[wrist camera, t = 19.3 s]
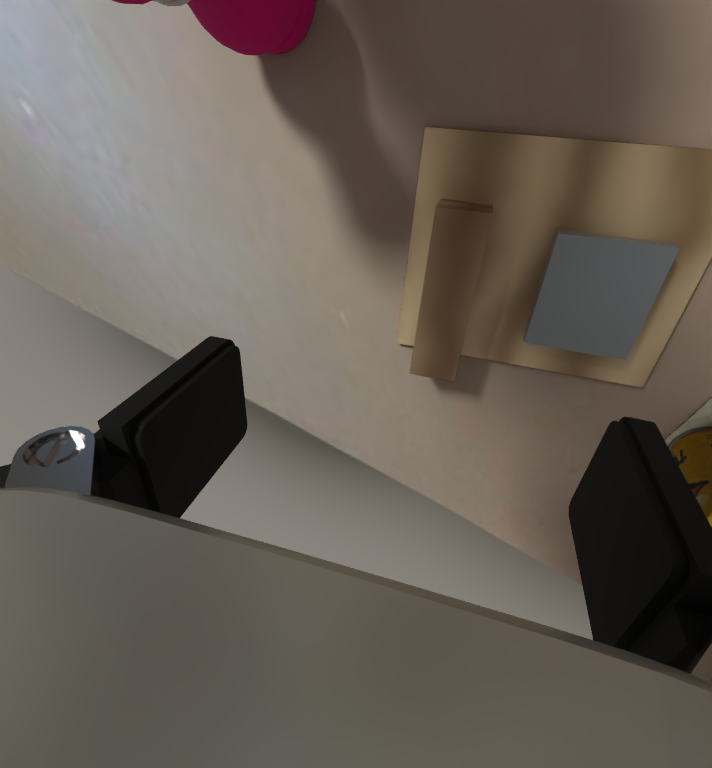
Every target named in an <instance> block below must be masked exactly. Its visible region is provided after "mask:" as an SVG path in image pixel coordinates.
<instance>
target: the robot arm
mask: <svg viewBox="0 0 712 768" xmlns="http://www.w3.org/2000/svg"><path fill="white" fill-rule="evenodd" d="M98 424H99V427H100V430H98V431H97V432H96V433H95V434H93V433H92V432H91V431H90V430H88V429H86V428H83V427H76V426H68V427H59V428H55V429H51V430H48V431H45V432H43V433H40V434H38V435H36V436H34V437H33V438H31V439H29V440H28V441H26V442H25V443H24V444H23V445H22V446H21V447H20V448H18V450H17V452H16V453H15V455H14V457H13V460H12V464H9V465H5V466H1V467H0V768H712V527H711V525H710V523H709V521H708V519H707V518H706V516H705V514H704V512H703V510H702V508H701V507H700V505H699V503H698V501H697V499H696V497H695V496H694V494H693V492H692V490H691V488H690V486H689V484H688V483H687V481H686V479H685V477H684V475H683V473H682V472H681V470H680V468H679V466H678V464H677V462H676V461H675V459H674V457H673V455H672V453H671V451H670V450H669V448H668V446H667V444H666V442H665V440H664V439H663V437H662V435H661V433H660V431H659V429H658V428H657V426H656V424H655V423H654V422H650V421H645V420H640V419H635V418H630V417H623V418H621V419H620V420H619V422H617V421H612V422H611V423H610V424H609V426H608V428H607V430H606V432H605V434H604V436H603V438H602V440H601V442H600V444H599V446H598V448H597V450H596V452H595V454H594V456H593V458H592V460H591V462H590V464H589V466H588V468H587V470H586V471H585V473H584V475H583V477H582V479H581V481H580V483H579V485H578V487H577V489H576V491H575V493H574V495H573V497H572V499H571V502H570V505H569V519H570V524H571V529H572V534H573V539H574V544H575V549H576V554H577V559H578V565H579V570H580V575H581V580H582V585H583V590H584V595H585V599H586V605H587V610H588V615H589V620H590V625H591V630H592V636H593V640H590V639H587V638H584V637H581V636H577V635H574V634H571V633H568V632H565V631H561V630H558V629H555V628H552V627H549V626H546V625H542V624H539V623H536V622H532V621H529V620H525V619H522V618H519V617H516V616H512V615H509V614H505V613H502V612H499V611H495V610H492V609H489V608H485V607H482V606H479V605H475V604H472V603H469V602H465V601H462V600H459V599H455V598H452V597H449V596H445V595H442V594H438V593H435V592H432V591H428V590H425V589H421V588H418V587H415V586H412V585H408V584H404V583H401V582H398V581H395V580H391V579H388V578H384V577H381V576H377V575H374V574H370V573H367V572H364V571H360V570H357V569H354V568H350V567H346V566H343V565H340V564H336V563H333V562H330V561H326V560H322V559H319V558H316V557H312V556H309V555H306V554H302V553H299V552H295V551H292V550H288V549H285V548H281V547H278V546H275V545H271V544H268V543H264V542H261V541H257V540H253V539H250V538H247V537H243V536H240V535H236V534H233V533H229V532H226V531H222V530H219V529H215V528H212V527H208V526H205V525H201V524H198V523H194V522H191V521H187V520H183V519H180V517H181V516H182V514H183V513H184V512H185V511H186V509H187V508H188V507H189V505H190V504H191V503H192V502H193V501H194V499H195V498H196V497H197V495H198V494H199V493H200V491H201V490H202V489H203V488H204V487H205V485H206V484H207V483H208V482H209V480H210V479H211V478H212V476H213V475H214V474H215V473H216V471H217V470H218V469H219V468H220V466H221V465H222V464H223V462H224V461H225V460H226V459H227V457H228V456H229V455H230V453H231V452H232V451H233V450H234V449H235V447H236V446H237V444H238V443H239V442H240V441H241V440H242V438H243V437H244V435H245V433H246V430H247V416H246V407H245V397H244V387H243V377H242V368H241V358H240V350H239V348H238V347H237V346H235V344H234V343H233V341H232V340H229V339H224V338H219V337H213V336H210V337H208V338H207V339H205V340H204V341H203V342H201V343H200V344H199V345H198V346H196V347H195V348H194V349H192V350H191V351H190V352H188V353H187V354H186V355H184V356H183V357H182V358H180V359H179V360H178V361H176V362H175V363H174V364H172V365H171V366H170V367H169V368H167V369H166V370H165V371H163V372H162V373H161V374H159V375H158V376H157V377H155V378H154V379H153V380H151V381H150V382H149V383H147V384H146V385H145V386H143V387H142V388H141V389H140V390H138V391H137V392H136V393H134V394H133V395H132V396H130V397H129V398H128V399H126V400H125V401H124V402H122V403H121V404H120V405H119V406H117V407H116V408H114V409H113V410H112V411H111V412H109V413H108V414H107V415H105V416H104V417H103V418H101V419H100V420H99V421H98Z"/></svg>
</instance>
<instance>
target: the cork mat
mask: <svg viewBox="0 0 712 768" xmlns="http://www.w3.org/2000/svg"><path fill="white" fill-rule="evenodd" d="M441 199H449V200H458V201H467V202H476V203H485V204H493V215H492V220H491V224H490V228H489V233H488V237H487V241H486V246H485V250H484V255H483V259H482V263H481V268H480V272H479V276H478V281H477V285H476V290H475V294H474V298H473V303H472V307H471V312H470V316H469V320H468V325H467V329H466V333H465V338H464V342H463V347H462V351H461V355H465V356H470V357H476V358H481V359H487V360H492V361H498V362H504V363H509V364H515V365H520V366H526V367H531V368H537V369H542V370H548V371H553V372H559V373H564V374H570V375H575V376H581V377H586V378H592V379H597V380H603V381H608V382H614V383H620V384H625V385H631V386H636V387H642V388H643V386H644V385H645V383H646V381H647V379H648V377H649V375H650V373H651V371H652V369H653V368H654V366H655V364H656V362H657V360H658V358H659V356H660V354H661V352H662V351H663V349H664V347H665V345H666V343H667V341H668V339H669V337H670V335H671V333H672V332H673V330H674V328H675V326H676V324H677V322H678V320H679V318H680V316H681V315H682V313H683V311H684V309H685V307H686V305H687V303H688V301H689V299H690V298H691V296H692V294H693V292H694V290H695V288H696V286H697V284H698V282H699V281H700V279H701V277H702V275H703V273H704V271H705V269H706V267H707V265H708V264H709V262H710V260H711V258H712V150H710V149H697V148H685V147H672V146H659V145H647V144H634V143H621V142H609V141H596V140H584V139H571V138H558V137H546V136H533V135H521V134H508V133H495V132H483V131H470V130H457V129H445V128H432V127H425V130H424V138H423V146H422V153H421V161H420V169H419V176H418V184H417V192H416V199H415V207H414V215H413V222H412V230H411V238H410V245H409V253H408V261H407V268H406V276H405V284H404V291H403V299H402V307H401V314H400V322H399V329H398V337H397V343H399V344H404V345H410V346H414V342H415V335H416V329H417V322H418V316H419V310H420V303H421V297H422V290H423V284H424V278H425V271H426V265H427V258H428V252H429V246H430V239H431V233H432V226H433V220H434V214H435V207H436V206H437V204H438V203H439V201H440V200H441ZM556 229H559V230H568V231H576V232H584V233H593V234H601V235H610V236H618V237H626V238H635V239H643V240H652V241H660V242H668V243H673V244H675V245H676V246H678V247H679V248H680V249H679V251H678V253H677V255H676V257H675V259H674V261H673V263H672V265H671V268H670V270H669V272H668V274H667V276H666V278H665V280H664V282H663V284H662V286H661V288H660V290H659V292H658V295H657V297H656V299H655V301H654V303H653V305H652V307H651V309H650V311H649V313H648V315H647V317H646V319H645V322H644V324H643V326H642V328H641V330H640V332H639V334H638V336H637V338H636V340H635V342H634V344H633V346H632V349H631V351H630V353H629V355H628V357H627V359H626V360H622V359H616V358H610V357H604V356H599V355H593V354H587V353H581V352H575V351H569V350H563V349H558V348H552V347H546V346H540V345H534V344H528V343H524V340H523V333H524V330H525V327H526V323H527V320H528V317H529V314H530V311H531V307H532V304H533V301H534V298H535V295H536V291H537V288H538V285H539V282H540V279H541V276H542V272H543V269H544V266H545V263H546V260H547V256H548V253H549V250H550V247H551V244H552V240H553V237H554V234H555V231H556Z"/></svg>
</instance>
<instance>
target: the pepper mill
mask: <svg viewBox="0 0 712 768" xmlns="http://www.w3.org/2000/svg"><path fill="white" fill-rule="evenodd" d="M113 1H116V2H119V3H124V4H144V3H147V2H149V1H157V2H158V3H160V4H163V5H167V6H181V5H183V4H186V3H187V4H188V5H189V7H190V8H191V10H192V11H193V13H194V14H195V16H196V18H197V19H198V21H199V22H200V24H201V25H202V26H203V27H204V28H205V29H206V30H207V31H208V32H209V33H210V34H211V35H212V36H213V37H214V38H215V39H216V40H217V41H218V42H220V43H221V44H223V45H224V46H226V47H228V48H230V49H232V50H234V51H236V52H238V53H242V54H245V55H261V54H264V53H271V54H281V53H286V52H288V51H290V50H292V49H293V48H295V47H296V46H297V45H298V44H299V43H300V42H301V41H302V40H303V38H304V37H305V35H306V33H307V31H308V29H309V27H310V24H311V21H312V17H313V12H314V4H315V0H113Z"/></svg>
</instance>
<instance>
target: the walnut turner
mask: <svg viewBox="0 0 712 768" xmlns="http://www.w3.org/2000/svg"><path fill="white" fill-rule="evenodd" d="M492 215H493V204H485V203H476V202H467V201H458V200H449V199H441V200H440V201H439V203H438V204H437V206H436V207H435V214H434V220H433V226H432V233H431V239H430V246H429V252H428V258H427V265H426V271H425V278H424V284H423V290H422V297H421V303H420V310H419V316H418V322H417V329H416V335H415V342H414V348H413V355H412V361H411V367H410V374H415V375H420V376H425V377H431V378H436V379H441V380H446V381H451V382H455V377H456V373H457V368H458V364H459V360H460V355H461V351H462V347H463V342H464V338H465V333H466V329H467V325H468V320H469V316H470V312H471V307H472V303H473V298H474V294H475V290H476V285H477V281H478V276H479V272H480V268H481V263H482V259H483V255H484V250H485V246H486V241H487V237H488V233H489V228H490V224H491V220H492Z"/></svg>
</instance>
